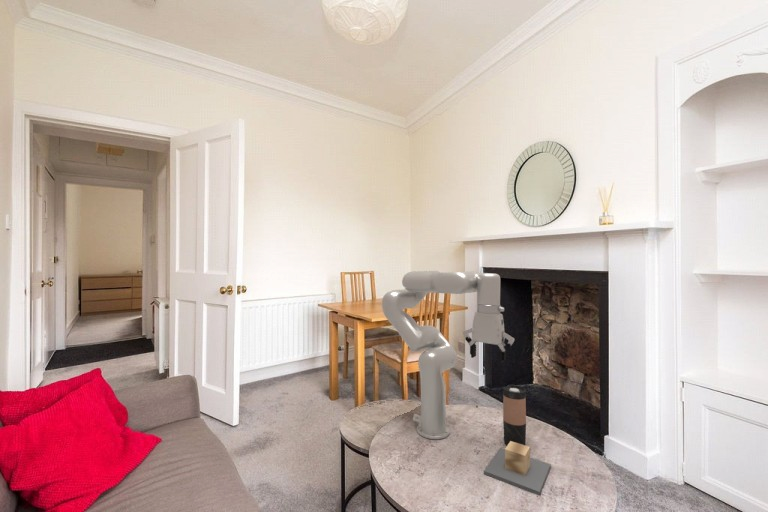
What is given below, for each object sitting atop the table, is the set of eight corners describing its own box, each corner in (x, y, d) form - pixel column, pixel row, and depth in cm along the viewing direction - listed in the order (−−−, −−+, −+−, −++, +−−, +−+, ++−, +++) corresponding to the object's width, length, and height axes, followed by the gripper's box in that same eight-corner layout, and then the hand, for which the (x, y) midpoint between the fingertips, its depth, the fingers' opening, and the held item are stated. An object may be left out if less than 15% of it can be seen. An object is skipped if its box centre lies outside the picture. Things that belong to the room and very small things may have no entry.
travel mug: (528, 451, 115) (528, 393, 116) (505, 449, 117) (504, 391, 117) (523, 440, 123) (523, 385, 123) (501, 438, 124) (501, 383, 125)
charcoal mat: (483, 474, 103) (483, 470, 103) (500, 450, 116) (500, 447, 116) (539, 495, 94) (539, 491, 94) (550, 467, 107) (550, 464, 107)
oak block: (505, 468, 104) (504, 449, 104) (510, 459, 109) (510, 440, 109) (525, 475, 101) (525, 455, 101) (530, 466, 106) (529, 446, 106)
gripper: (517, 310, 112) (516, 361, 112) (467, 305, 122) (466, 352, 122) (511, 313, 106) (510, 367, 106) (459, 308, 116) (459, 357, 116)
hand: (487, 359), depth 114 cm, fingers open, 9 cm apart
